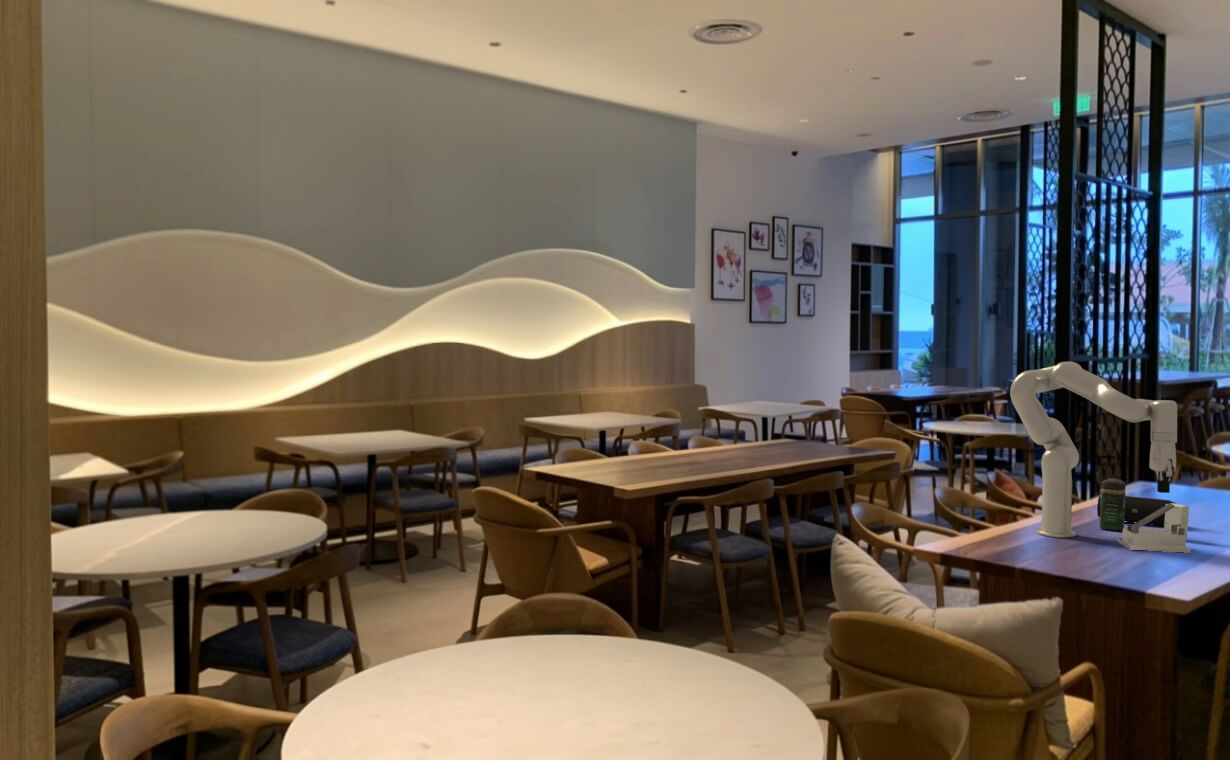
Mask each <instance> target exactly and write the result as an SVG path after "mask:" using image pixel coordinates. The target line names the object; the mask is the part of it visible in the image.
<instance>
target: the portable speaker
mask: <svg viewBox="0 0 1230 760" xmlns="http://www.w3.org/2000/svg"><path fill="white" fill-rule="evenodd" d="M1100 503H1101V495H1099V496H1098V499H1097V507H1096V508H1097V509H1096V513H1097V517H1098V518H1100ZM1169 503H1170V504H1171V503H1174V504H1178V503H1177V502H1174V501H1171V500H1169V499H1162V498H1161V499H1160V498H1152V497H1151V498H1150V497H1141V496H1140V497H1139V496H1130V495H1129V496H1128V495H1125V516H1124V521H1127V522H1136V523H1137V522H1139V521H1140V520H1142V519H1144V518H1146V517H1147V516H1149V515H1151V514H1152V513H1154V512H1156V511H1157V510H1159V509H1161V508H1163V507H1164V506H1166V504H1169ZM1164 523H1165V513H1164V514H1162V515H1160V516H1159V517H1157V518H1155V519H1153V520H1152V521H1150V522H1148V523H1147V524H1153V525H1152V526H1154V525H1161V526H1160V527H1163V526H1164Z"/></svg>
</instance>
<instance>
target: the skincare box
mask: <svg viewBox="0 0 1230 760" xmlns="http://www.w3.org/2000/svg"><path fill="white" fill-rule="evenodd" d="M1171 504H1172V505H1174V506H1175V507H1174V508H1172V509H1170V510H1169V511H1167V512H1165V523H1164V527H1163V529H1167V530H1171V524H1173V525H1177V531H1178V529H1179V528H1184V535H1186V541H1187V540H1188V532H1189V531H1188V527H1189V515H1190V505H1184V504H1180V503H1177V504H1174V503H1171ZM1166 505H1168V504H1166Z"/></svg>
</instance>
